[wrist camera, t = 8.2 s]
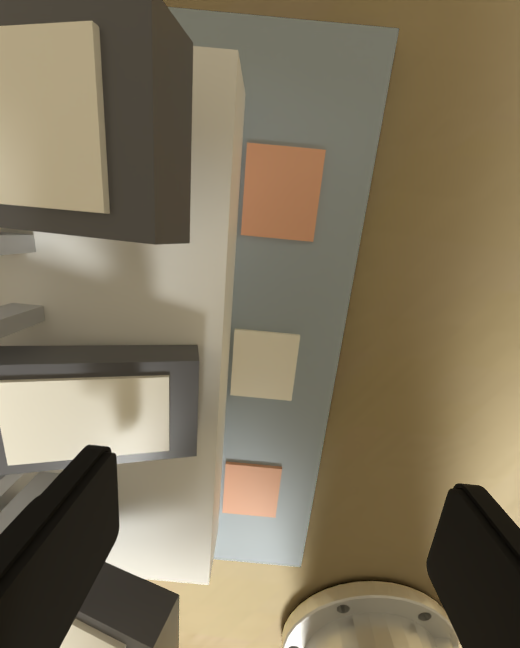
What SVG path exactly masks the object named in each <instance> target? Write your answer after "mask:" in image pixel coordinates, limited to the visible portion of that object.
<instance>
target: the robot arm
mask: <svg viewBox="0 0 520 648" xmlns="http://www.w3.org/2000/svg"><path fill="white" fill-rule="evenodd" d="M118 533H119V503H118V479H117V457H116V454H115V453H112V452H111V448H110V447H108V446H99V445H87V446H85V447H84V448H83V449H82V450H81V451H80V452H79V454H78V455H77V456H76V457H75V458H74V459H73V460H72V461H71V462H70V463H69V464H68V465H67V466H66V468H65V469H64V470H63V471H62V472H61V473H60V474H59V475H58V476H57V477H56V478H55V479H54V480H53V482H52V483H51V484H50V485H49V486H48V487H47V488H46V489H45V490H44V491H43V492H42V493H41V494H40V495H39V496H37V497H36V498H34V499H33V500H32V501H31V502H30V503H29V504H28V505H27V506H26V507H25V508H24V509H23V510H22V511H21V513H20V514H19V515H18V516H17V517H16V518H15V519H14V520H13V521H12V522H11V523H10V524H9V525H8V526H7V527H6V528H5V530H4V531H3V532H2V533H1V534H0V648H60V646H61V644H62V642H63V640H64V639H65V637H66V635H67V633H68V631H69V629H70V627H71V625H72V623H73V621H74V620H75V618H76V616H77V614H78V612H79V610H80V608H81V606H82V604H83V603H84V601H85V599H86V597H87V595H88V593H89V591H90V589H91V587H92V585H93V584H94V582H95V580H96V578H97V576H98V574H99V572H100V570H101V568H102V567H103V565H104V563H105V561H106V559H107V557H108V555H109V553H110V551H111V549H112V548H113V546H114V544H115V542H116V539H117V537H118ZM427 571H428V575H429V577H430V580H431V582H432V584H433V586H434V588H435V590H436V592H437V595H438V597H439V599H440V601H441V603H442V605H443V607H444V609H445V610H444V609H443V608H442V607H441V606H440V605H439V604H438V603H437V602H436V601H435V600H434V599H432V598H430V597H429V596H427V595H426V594H424V593H422V592H420V591H418V590H415V589H413V588H410V587H408V586H404V585H400V584H396V583H392V582H382V581H357V582H351V583H346V584H340V585H337V586H334V587H331V588H327V589H324V590H322V591H320V592H318V593H316V594H314V595H312V596H310V597H309V598H308V599H306V600H305V601H304V602H302V603H301V604H300V605H299V606H298V607H297V608H296V609H295V610H294V611H293V612H292V613H291V614H290V616H289V618H288V619H287V621H286V623H285V625H284V629H283V633H282V648H459V641H460V643H461V645H462V648H520V528H519V527H518V526H517V525H516V524H515V523H514V521H513V520H512V519H511V518H510V517H509V516H508V515H507V513H506V512H505V511H504V510H503V509H502V508H501V506H500V505H499V504H498V503H497V502H496V501H495V500H494V498H493V497H492V496H491V495H490V494H489V493H488V492H487V490H486V489H484V488H483V487H482V486H479V485H470V484H456V485H455V486H454V488H453V489H450V490H449V491H448V494H447V497H446V500H445V504H444V507H443V510H442V513H441V516H440V520H439V523H438V526H437V529H436V532H435V536H434V539H433V542H432V545H431V548H430V552H429V555H428V558H427Z"/></svg>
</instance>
